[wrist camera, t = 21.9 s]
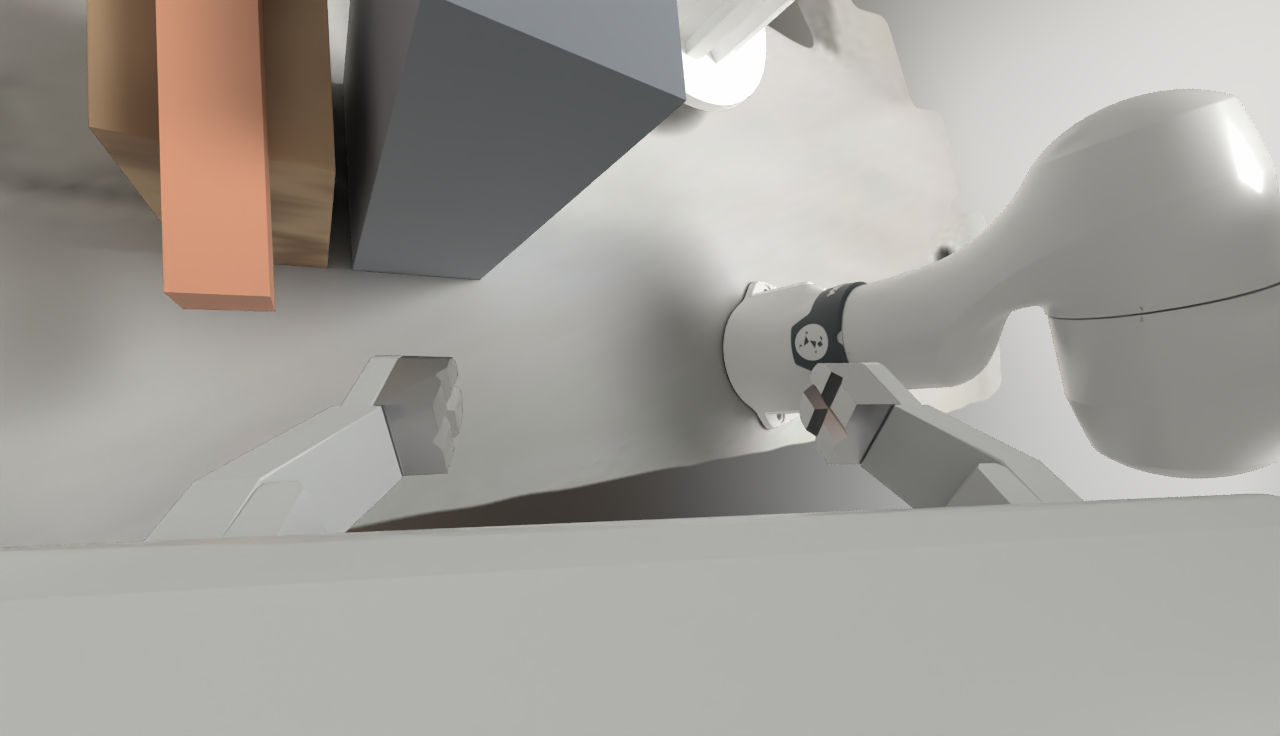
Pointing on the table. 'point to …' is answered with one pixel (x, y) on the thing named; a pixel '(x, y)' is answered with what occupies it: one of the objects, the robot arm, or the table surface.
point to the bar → (214, 155)
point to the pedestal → (492, 119)
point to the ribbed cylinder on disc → (724, 49)
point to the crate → (292, 101)
